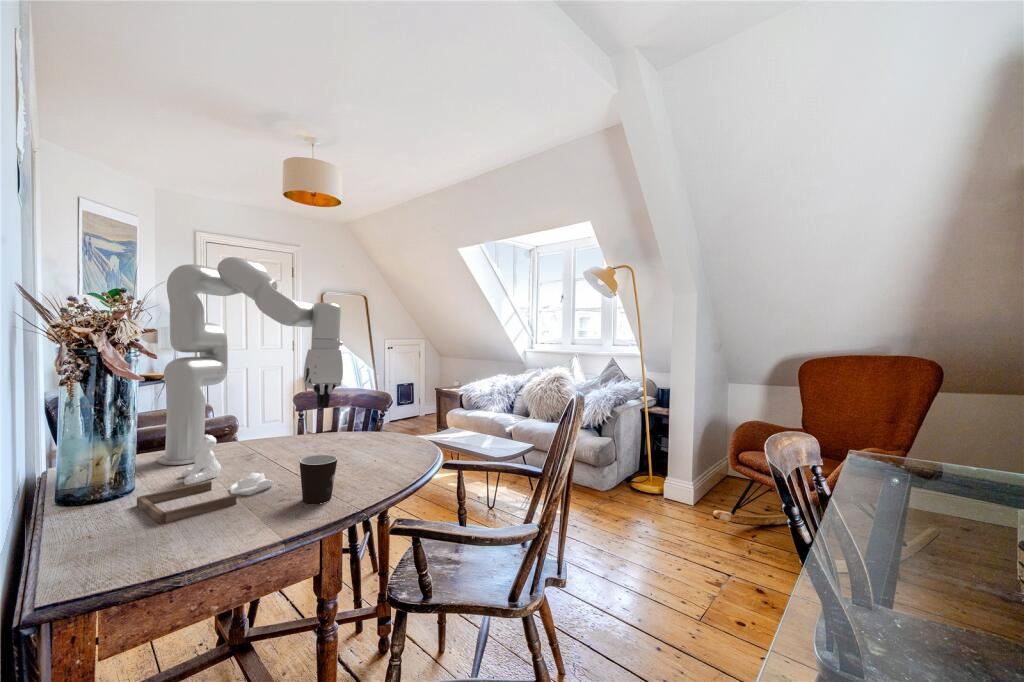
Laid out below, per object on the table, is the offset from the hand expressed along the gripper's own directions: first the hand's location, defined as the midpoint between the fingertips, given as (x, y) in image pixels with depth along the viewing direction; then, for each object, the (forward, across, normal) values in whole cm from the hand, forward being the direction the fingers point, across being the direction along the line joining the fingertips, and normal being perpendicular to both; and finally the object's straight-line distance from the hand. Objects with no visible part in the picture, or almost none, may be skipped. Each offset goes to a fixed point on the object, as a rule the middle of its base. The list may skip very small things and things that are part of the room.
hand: (322, 407), depth 126 cm
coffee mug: (+20, +10, +18) cm, 28 cm away
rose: (+20, +19, 0) cm, 27 cm away
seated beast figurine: (+19, +24, -18) cm, 36 cm away
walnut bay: (+19, +32, 0) cm, 38 cm away
